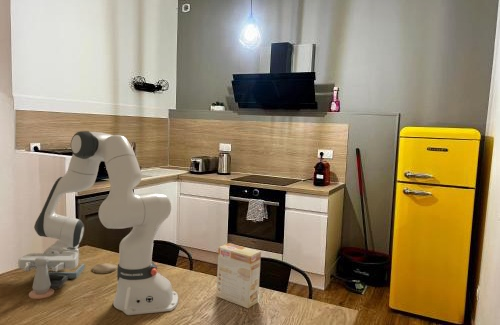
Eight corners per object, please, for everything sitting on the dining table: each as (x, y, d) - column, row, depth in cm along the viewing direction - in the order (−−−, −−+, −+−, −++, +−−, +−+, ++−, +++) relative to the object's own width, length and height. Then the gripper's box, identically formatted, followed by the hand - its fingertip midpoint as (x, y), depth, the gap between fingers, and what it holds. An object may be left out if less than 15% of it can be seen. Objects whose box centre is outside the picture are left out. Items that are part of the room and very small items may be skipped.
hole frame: (44, 278, 147) (44, 275, 146) (68, 278, 148) (68, 275, 148) (33, 288, 138) (33, 284, 138) (59, 288, 139) (59, 285, 139)
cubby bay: (47, 268, 157) (47, 263, 156) (84, 268, 158) (84, 263, 158) (36, 278, 147) (36, 272, 147) (76, 278, 149) (76, 273, 148)
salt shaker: (43, 296, 131) (43, 261, 130) (28, 294, 132) (28, 259, 130) (54, 289, 137) (54, 255, 136) (39, 287, 137) (39, 254, 136)
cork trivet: (103, 264, 166) (103, 261, 166) (122, 267, 163) (122, 265, 163) (87, 271, 156) (87, 268, 156) (106, 274, 153) (106, 272, 153)
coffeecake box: (258, 302, 137) (261, 251, 135) (247, 309, 131) (250, 256, 129) (226, 290, 146) (229, 242, 144) (215, 296, 140) (217, 246, 138)
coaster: (57, 289, 139) (57, 287, 139) (48, 299, 131) (48, 297, 131) (35, 289, 138) (35, 287, 138) (24, 299, 130) (24, 297, 130)
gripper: (28, 247, 144) (9, 260, 131) (82, 248, 147) (69, 261, 133) (28, 263, 145) (9, 277, 131) (82, 263, 147) (69, 278, 134)
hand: (40, 269), depth 132 cm, fingers open, 8 cm apart
